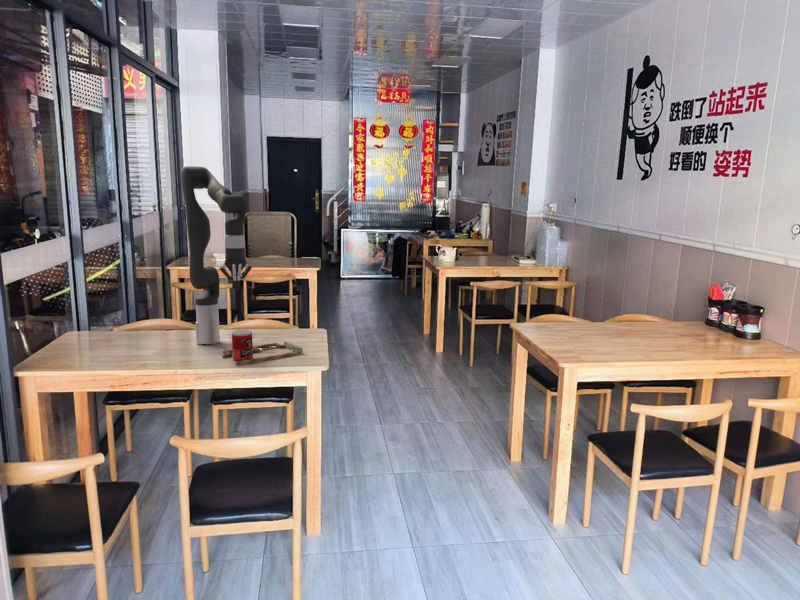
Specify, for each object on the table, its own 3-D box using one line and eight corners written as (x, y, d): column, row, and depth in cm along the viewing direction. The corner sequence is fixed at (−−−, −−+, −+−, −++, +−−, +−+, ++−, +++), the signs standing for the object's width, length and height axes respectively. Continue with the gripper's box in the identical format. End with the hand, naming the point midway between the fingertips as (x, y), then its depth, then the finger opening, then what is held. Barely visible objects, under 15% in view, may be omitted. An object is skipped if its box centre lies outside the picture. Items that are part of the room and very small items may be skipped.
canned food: (242, 363, 232) (241, 335, 230) (228, 359, 236) (227, 332, 234) (257, 358, 238) (256, 331, 236) (243, 355, 242) (241, 329, 240)
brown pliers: (237, 365, 228) (236, 359, 227) (217, 354, 243) (217, 348, 243) (303, 354, 245) (302, 348, 244) (281, 344, 260) (280, 338, 260)
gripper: (220, 248, 229) (222, 292, 233) (254, 246, 236) (255, 290, 240) (215, 245, 236) (217, 289, 239) (248, 244, 242) (249, 286, 246)
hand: (236, 289), depth 239 cm, fingers closed
